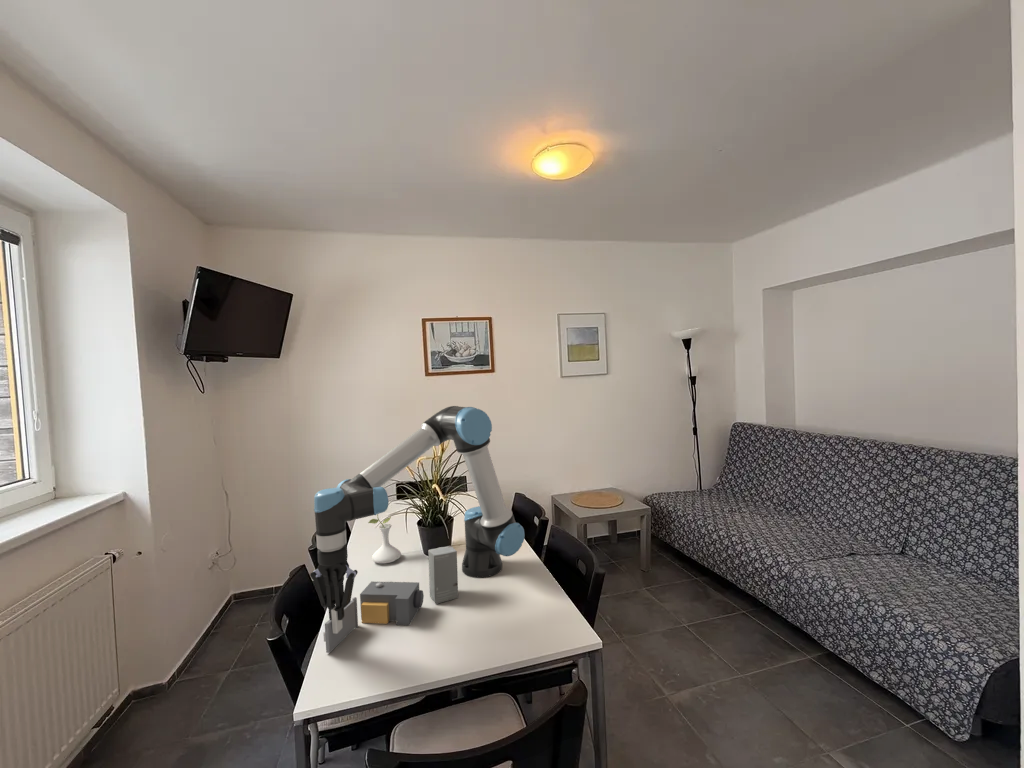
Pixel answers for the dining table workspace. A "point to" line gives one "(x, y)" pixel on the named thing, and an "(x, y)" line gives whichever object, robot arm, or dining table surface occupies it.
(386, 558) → the flower in vase
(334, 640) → the door
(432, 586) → the skincare box
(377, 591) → the housing
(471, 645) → the dining table surface
